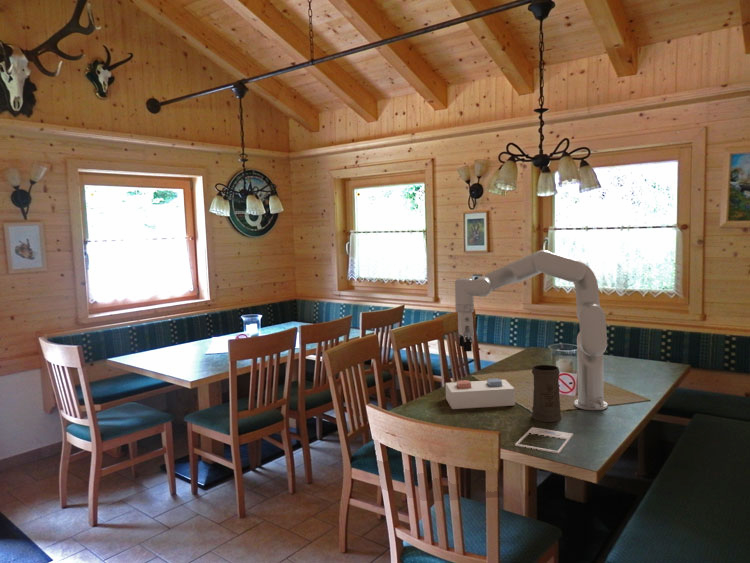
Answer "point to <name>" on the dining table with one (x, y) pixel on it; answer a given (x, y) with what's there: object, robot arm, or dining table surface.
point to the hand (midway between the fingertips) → (465, 348)
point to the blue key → (494, 382)
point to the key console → (480, 395)
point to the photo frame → (547, 433)
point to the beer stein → (546, 393)
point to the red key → (463, 384)
